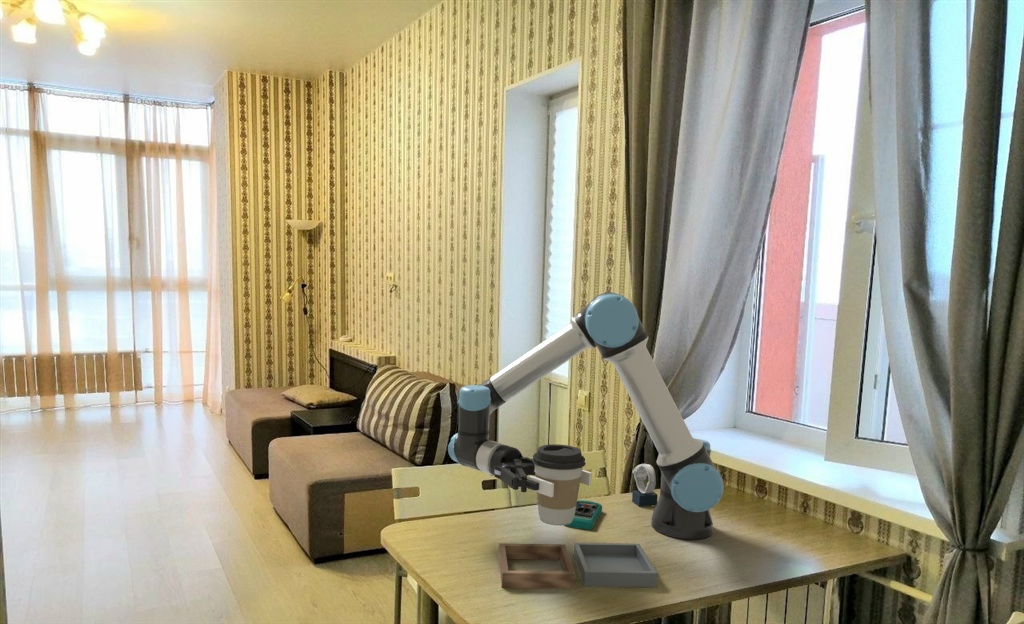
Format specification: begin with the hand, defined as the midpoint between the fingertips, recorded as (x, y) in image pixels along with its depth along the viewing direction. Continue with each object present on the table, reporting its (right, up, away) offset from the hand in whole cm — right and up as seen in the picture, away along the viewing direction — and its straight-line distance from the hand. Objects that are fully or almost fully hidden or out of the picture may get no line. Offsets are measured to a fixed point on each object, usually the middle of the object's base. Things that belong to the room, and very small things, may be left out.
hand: (572, 484), depth 142 cm
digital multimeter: (+6, -19, +36) cm, 41 cm away
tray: (+9, -20, +5) cm, 23 cm away
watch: (+24, -18, +49) cm, 58 cm away
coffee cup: (-3, -8, +3) cm, 10 cm away
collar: (-8, -19, +3) cm, 21 cm away
